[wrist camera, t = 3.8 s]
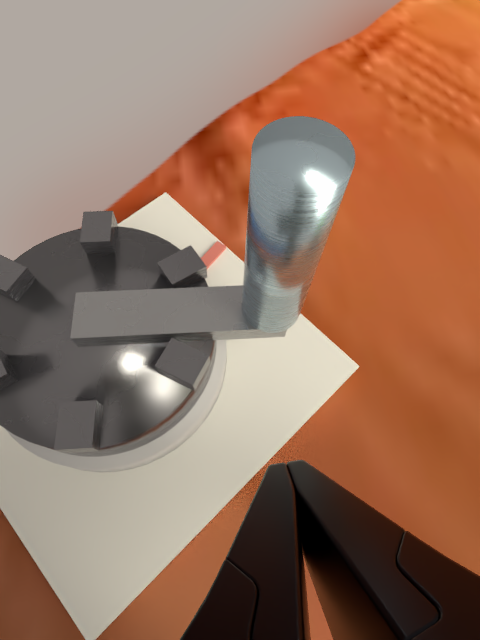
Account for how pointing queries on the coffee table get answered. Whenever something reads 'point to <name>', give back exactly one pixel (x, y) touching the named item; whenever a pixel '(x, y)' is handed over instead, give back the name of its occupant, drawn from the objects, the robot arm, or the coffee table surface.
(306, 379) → the mounting plate
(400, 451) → the coffee table surface
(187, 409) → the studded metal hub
